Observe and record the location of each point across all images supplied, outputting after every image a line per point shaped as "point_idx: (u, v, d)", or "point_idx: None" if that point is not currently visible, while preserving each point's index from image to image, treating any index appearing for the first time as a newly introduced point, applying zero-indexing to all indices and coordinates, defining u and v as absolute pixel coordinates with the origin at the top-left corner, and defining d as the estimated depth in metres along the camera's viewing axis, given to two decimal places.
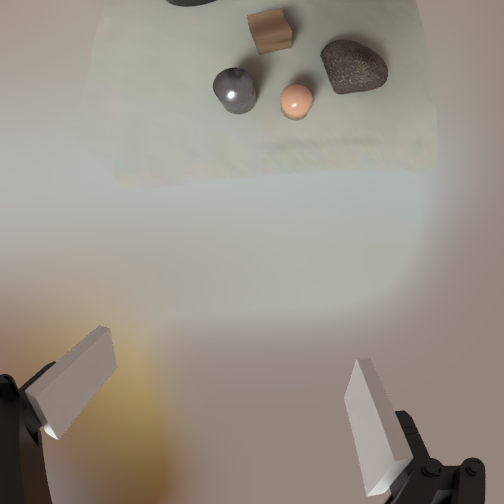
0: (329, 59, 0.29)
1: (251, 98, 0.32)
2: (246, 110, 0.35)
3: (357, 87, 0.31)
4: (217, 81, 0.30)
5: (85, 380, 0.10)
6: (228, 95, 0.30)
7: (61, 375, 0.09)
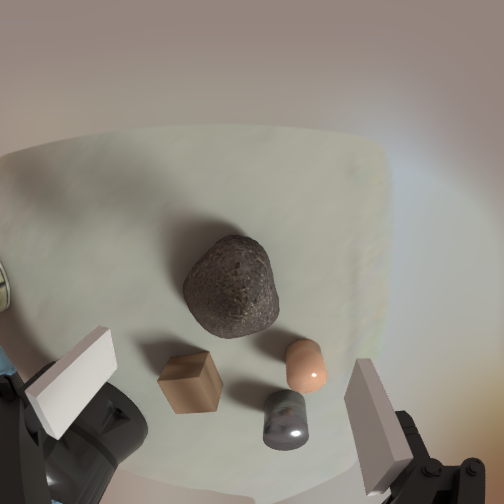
0: (234, 336, 0.25)
1: (298, 412, 0.27)
2: (304, 401, 0.30)
3: (275, 292, 0.25)
4: (279, 448, 0.25)
5: (85, 380, 0.10)
6: (299, 440, 0.25)
7: (61, 375, 0.09)
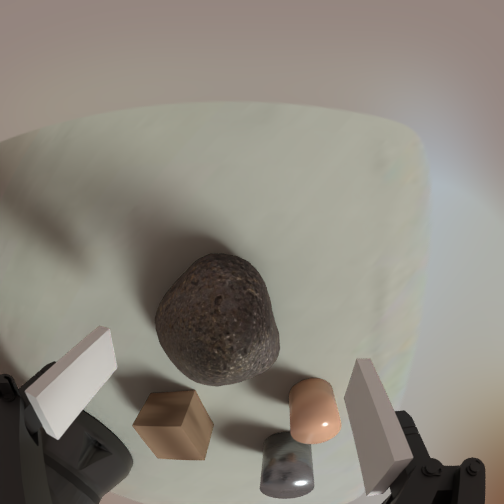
0: None
1: (303, 460, 0.20)
2: (309, 444, 0.23)
3: (273, 330, 0.18)
4: (279, 496, 0.19)
5: (85, 380, 0.10)
6: (303, 490, 0.18)
7: (61, 375, 0.09)
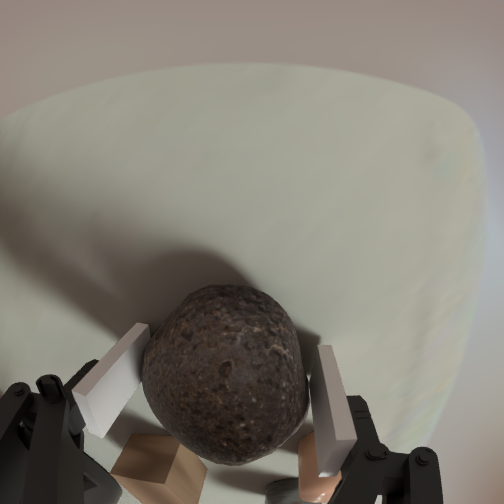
0: None
1: None
2: None
3: (305, 388, 0.12)
4: None
5: (127, 376, 0.12)
6: None
7: (108, 372, 0.10)
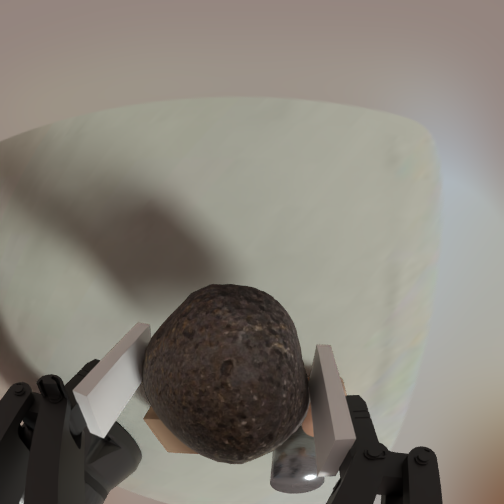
0: None
1: (312, 453, 0.20)
2: None
3: None
4: (290, 491, 0.19)
5: (128, 376, 0.12)
6: (313, 484, 0.18)
7: (109, 372, 0.10)
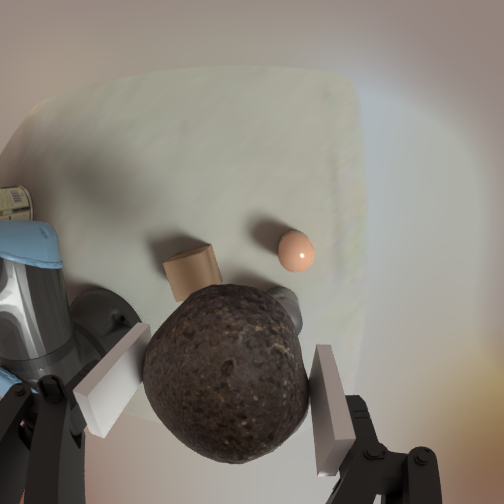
0: None
1: (289, 298, 0.32)
2: (296, 297, 0.35)
3: (306, 386, 0.12)
4: None
5: (128, 376, 0.12)
6: None
7: (109, 372, 0.10)
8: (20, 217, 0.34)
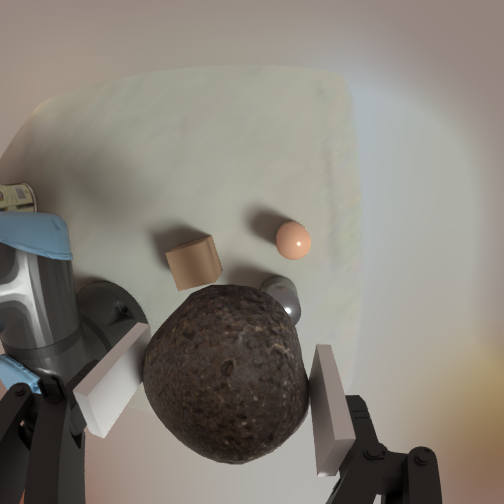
0: None
1: (286, 287, 0.34)
2: (293, 284, 0.37)
3: (306, 387, 0.12)
4: None
5: (128, 376, 0.12)
6: (293, 314, 0.32)
7: (109, 372, 0.10)
8: None
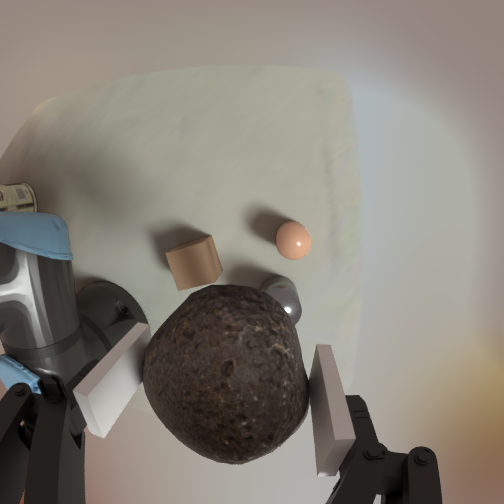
0: None
1: (285, 286, 0.34)
2: (292, 283, 0.37)
3: (306, 387, 0.12)
4: None
5: (129, 376, 0.12)
6: (294, 312, 0.32)
7: (109, 372, 0.10)
8: None
